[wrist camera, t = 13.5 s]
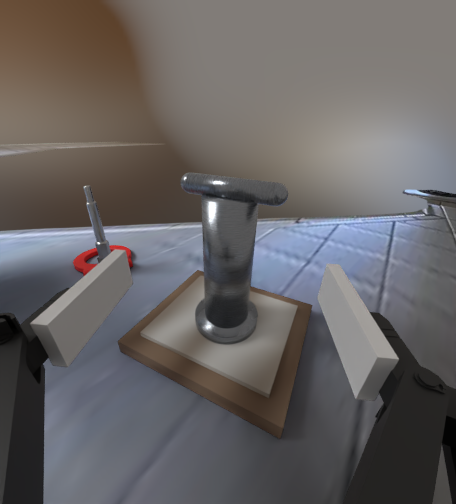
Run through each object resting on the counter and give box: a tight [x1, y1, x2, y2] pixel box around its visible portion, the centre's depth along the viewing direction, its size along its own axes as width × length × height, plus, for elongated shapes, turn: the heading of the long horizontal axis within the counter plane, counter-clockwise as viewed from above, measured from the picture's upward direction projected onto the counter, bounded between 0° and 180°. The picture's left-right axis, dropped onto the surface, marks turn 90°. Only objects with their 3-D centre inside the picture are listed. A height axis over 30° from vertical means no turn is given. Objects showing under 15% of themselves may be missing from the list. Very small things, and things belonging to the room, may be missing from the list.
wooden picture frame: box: [118, 270, 312, 439], centre depth 24 cm, size 16×14×2 cm
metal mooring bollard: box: [181, 173, 288, 345], centre depth 20 cm, size 9×6×14 cm
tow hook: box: [73, 186, 133, 276], centre depth 34 cm, size 8×13×9 cm
